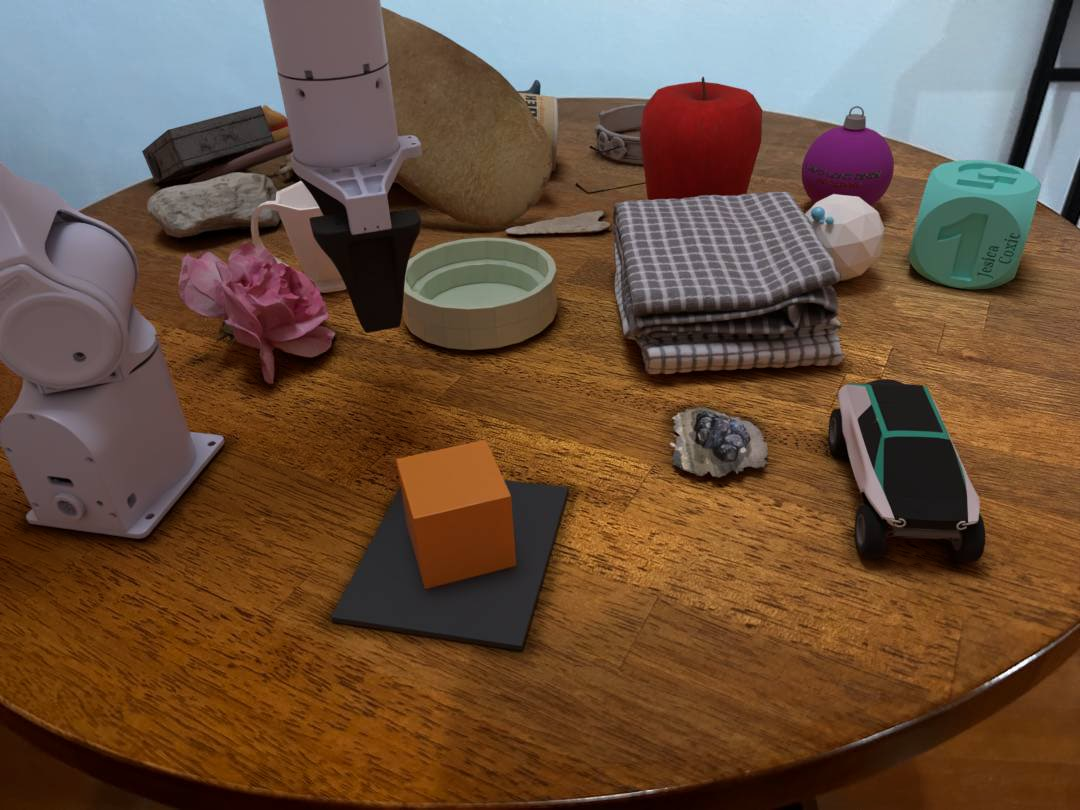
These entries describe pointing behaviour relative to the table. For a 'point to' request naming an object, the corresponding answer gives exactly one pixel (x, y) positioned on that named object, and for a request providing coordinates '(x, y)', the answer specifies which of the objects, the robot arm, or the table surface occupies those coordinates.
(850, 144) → the christmas ornament
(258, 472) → the table surface
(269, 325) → the flower
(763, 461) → the blueberries
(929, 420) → the toy car
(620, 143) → the bracelet
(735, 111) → the apple
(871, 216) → the ornament
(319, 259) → the cup
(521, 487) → the mat
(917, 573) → the table surface
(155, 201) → the decorative stone
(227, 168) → the toilet paper hanger
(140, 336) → the robot arm
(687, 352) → the towel
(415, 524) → the block
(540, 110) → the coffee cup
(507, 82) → the stone
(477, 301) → the bowl
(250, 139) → the grey rectangular box
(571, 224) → the stone tool
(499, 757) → the table surface
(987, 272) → the decorative dice
